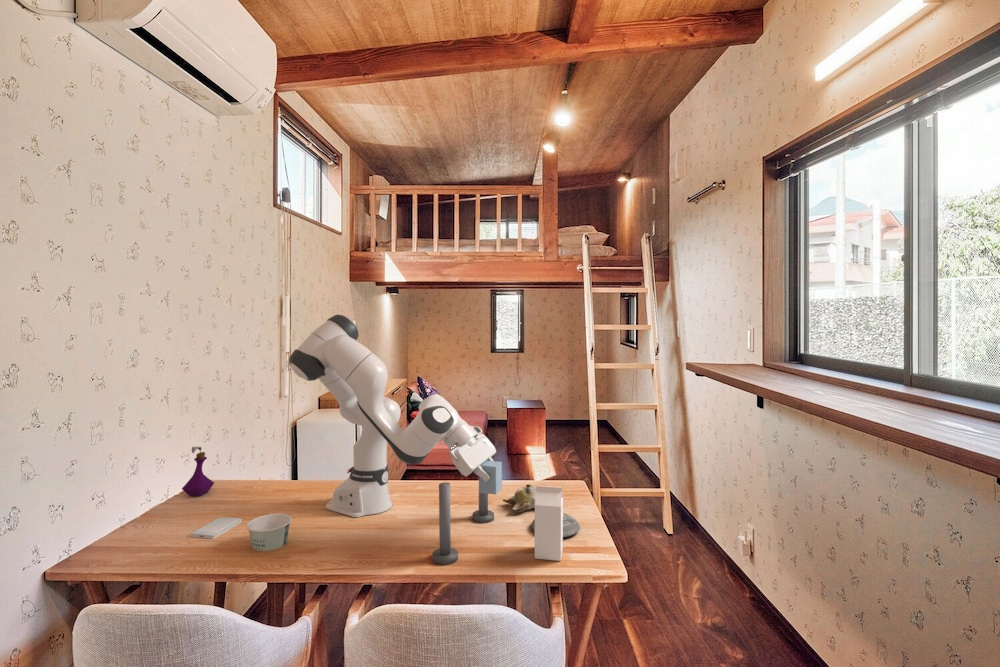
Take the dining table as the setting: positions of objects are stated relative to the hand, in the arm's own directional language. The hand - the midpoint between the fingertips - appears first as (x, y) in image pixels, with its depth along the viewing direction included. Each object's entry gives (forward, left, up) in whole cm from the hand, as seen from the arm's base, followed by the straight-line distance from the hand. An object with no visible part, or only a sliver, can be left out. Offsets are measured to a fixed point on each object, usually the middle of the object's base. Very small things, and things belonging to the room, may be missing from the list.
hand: (492, 476), depth 147 cm
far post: (-9, +14, -19) cm, 25 cm away
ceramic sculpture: (+2, +27, -20) cm, 33 cm away
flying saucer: (+15, +14, -20) cm, 29 cm away
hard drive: (-84, -21, -20) cm, 89 cm away
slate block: (-1, 0, -4) cm, 4 cm away
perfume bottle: (-116, -1, -20) cm, 117 cm away
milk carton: (+17, -2, -20) cm, 26 cm away
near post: (-9, -14, -19) cm, 25 cm away
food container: (-61, -23, -20) cm, 68 cm away
